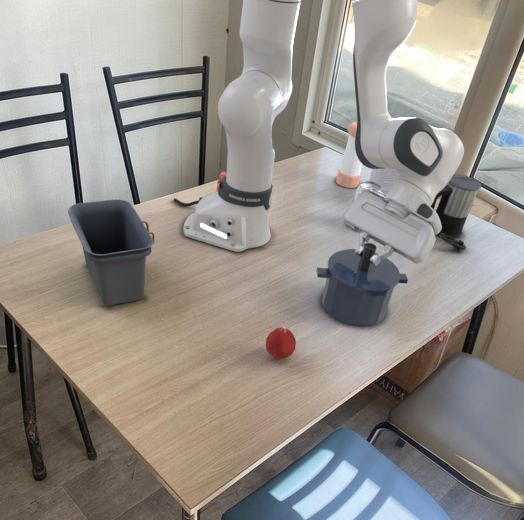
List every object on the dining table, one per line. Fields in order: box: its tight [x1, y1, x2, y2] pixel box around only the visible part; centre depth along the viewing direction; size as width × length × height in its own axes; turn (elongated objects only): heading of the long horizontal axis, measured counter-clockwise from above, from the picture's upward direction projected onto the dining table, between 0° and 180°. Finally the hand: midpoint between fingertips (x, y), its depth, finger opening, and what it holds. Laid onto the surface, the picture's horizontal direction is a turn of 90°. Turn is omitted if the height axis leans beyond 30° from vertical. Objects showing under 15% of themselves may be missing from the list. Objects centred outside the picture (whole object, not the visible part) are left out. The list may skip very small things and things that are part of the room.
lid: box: [327, 242, 400, 293], centre depth 112 cm, size 16×16×7 cm
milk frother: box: [430, 173, 482, 251], centre depth 145 cm, size 14×16×15 cm
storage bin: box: [67, 199, 155, 306], centre depth 113 cm, size 21×16×14 cm
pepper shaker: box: [335, 121, 364, 189], centre depth 163 cm, size 7×7×19 cm
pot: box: [315, 266, 409, 327], centre depth 117 cm, size 14×20×10 cm
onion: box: [265, 326, 297, 360], centre depth 102 cm, size 6×6×8 cm
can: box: [353, 180, 381, 201], centre depth 145 cm, size 6×6×12 cm
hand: (365, 259), depth 112 cm, fingers closed on lid, 2 cm apart
